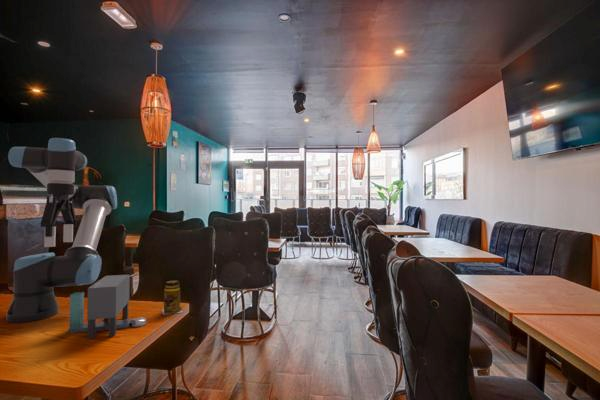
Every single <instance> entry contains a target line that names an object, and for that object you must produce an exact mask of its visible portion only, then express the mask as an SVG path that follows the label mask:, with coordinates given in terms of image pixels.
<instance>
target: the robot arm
mask: <svg viewBox="0 0 600 400" xmlns="http://www.w3.org/2000/svg"><path fill="white" fill-rule="evenodd" d="M76 149H77V147H76V142H75V141H74V140H72V139H70V138H62V137H52V138H50V139H49V140H48V144H47V147H33V146H32V147H31V146H12V147H11V148H10V149H9V151H8V155H7V156H8V157H7V158H8V162H9V164H10V165H11V167H14V168H20V169H22V168H24V169H26V170H27V171H28V172H30V174H32V175H33V177H35V178H36V180H38V181H39V182H40V183H41V184H42V185H43V186H44V187H45V188H46V194H47V195H51V196H46V203H45V206H44V210H43V213H42V217H41V221H40V227H42V228H44V240H43V242H44V244H43V247H44V248H52V247H53V248H54V247H56V231H57V230H56V229H57V226H55V225H56V222H57V219H58V217H59V215H60V213H61V216H62V218H63V221H64V224H63V236H62V237H63V239H62V240H63V243H73V244H72V246H71V247H68V249H66V251H65V252H64V255H60V256H59V255H58V256H57V255H56V254H55V252H44V253H36V254H33V255H32V254H31V255H27V256H23V257H19V258H18V259H16V260H15V262H14V265H13V266H14V267H13V271H12V272H13V292H12V293H13V295H12V296H13V298H12V300H11V302H10V305H9V307H8V310H7V311H6V315H5V316H6V317H5V320H6V322H7V323H14V324H17V323H19V324H20V323H27V322H33V321H39V320H42V319H46V318H49V317H52V316H54V315H57V314H59V311H60V309H59V308H60V305H59V302H58V300H57V298H56V295H55V292H54V291H55V290H54V287H56V288H57V287H71V286H79V287H80V286H85V285H91V284H94V283H96V281H97V280H98V277H99V275H100V273H101V270H102V257H101V256H100V255H99V253H98V251H97V248H98V244H99V241H100V238H101V235H102V231H103V227H104V223H105V220H106V216H108V215H110V214H111V212H112V210H117V209H118V195H117V189H116V188H115V187H114V186H113V185H93V184H92V185H89V184H74V183H75V182H76V180H75V179H76V178H75V177H76V176H75V175H76V174H75V173H76V172H75V171H81V170H83V169H85V168H86V167H87V164H88V158H87V156H86V155H85V154H83V153H82V152H81V151H79V150H76ZM75 209H76V210H83V211H84V212H83V215H82V218H81V221H80V223H79V226H78V229H77V232H76V235H75V237H74V225H76V224H77V218H76V212H75Z"/></svg>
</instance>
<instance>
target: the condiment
mask: <svg viewBox="0 0 600 400" xmlns="http://www.w3.org/2000/svg"><path fill="white" fill-rule="evenodd" d="M164 284H165V286H164V287H165V288H164V289H163V308H161V310H162V316H167V315H174V314H181V313H183V308H182V305H181V288H180V281H179V280H166V282H165V283H164Z"/></svg>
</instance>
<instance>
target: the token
mask: <svg viewBox="0 0 600 400" xmlns="http://www.w3.org/2000/svg"><path fill="white" fill-rule="evenodd" d="M131 319H132V320H131V325H130V327H132V328H140V327H143V326H145V325H147V317H142V316H141V317H135V318H131Z"/></svg>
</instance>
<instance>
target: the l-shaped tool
mask: <svg viewBox="0 0 600 400" xmlns="http://www.w3.org/2000/svg"><path fill="white" fill-rule="evenodd" d="M84 309H85V292H84V291H81V292H80V291H79V292H78V291H77V292H72V293H71V294H70V295H69V322H68V323H69V328H68V329H67V334H77V333H88V322H84V317H85V316H84V314H85V310H84ZM132 319H133V318H127V319H116V330H120V329H130V327H131V320H132ZM98 331H99V332H100V331H109V320H105V321H104V320H102V321H95V332H98Z"/></svg>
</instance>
